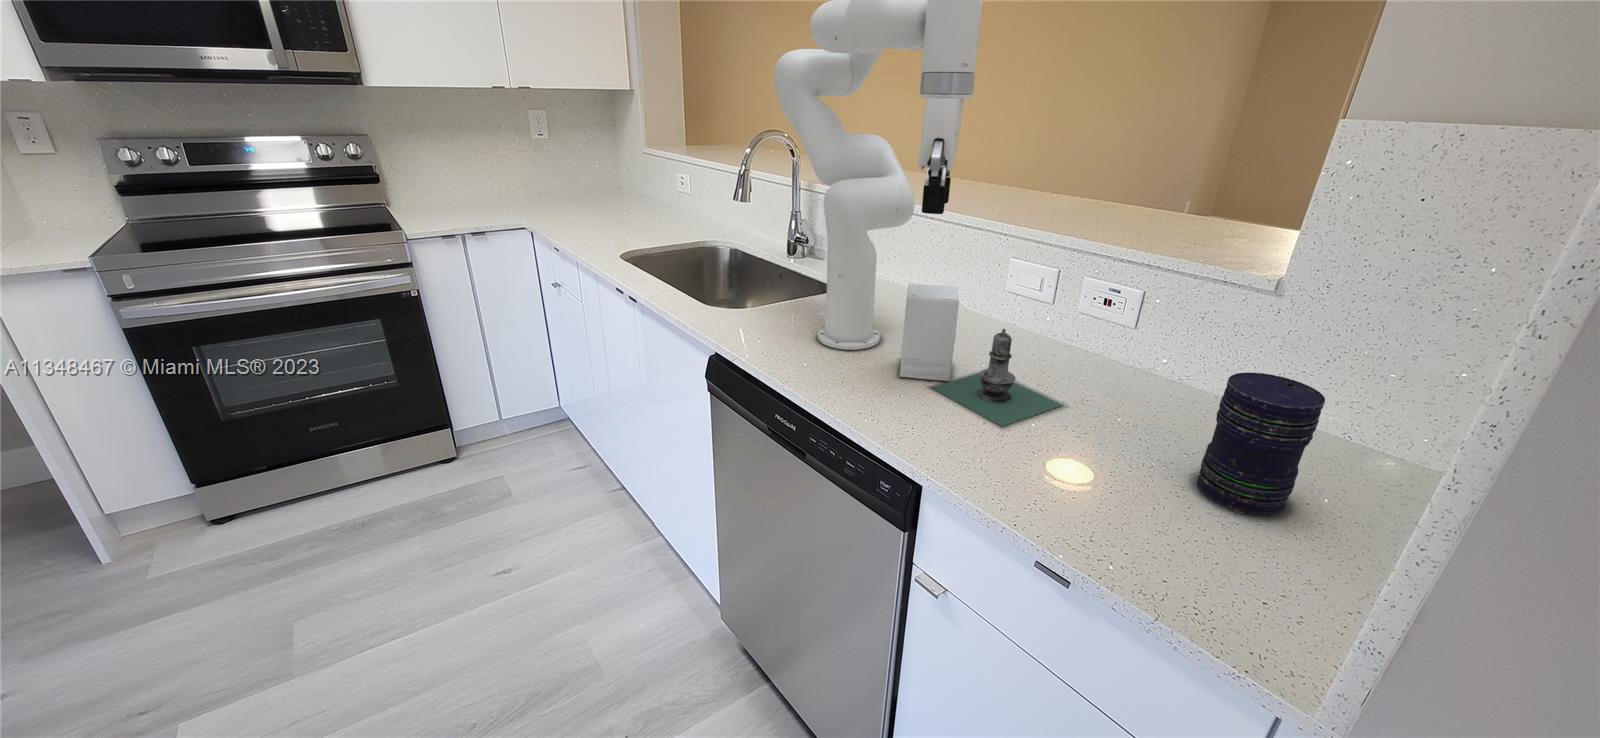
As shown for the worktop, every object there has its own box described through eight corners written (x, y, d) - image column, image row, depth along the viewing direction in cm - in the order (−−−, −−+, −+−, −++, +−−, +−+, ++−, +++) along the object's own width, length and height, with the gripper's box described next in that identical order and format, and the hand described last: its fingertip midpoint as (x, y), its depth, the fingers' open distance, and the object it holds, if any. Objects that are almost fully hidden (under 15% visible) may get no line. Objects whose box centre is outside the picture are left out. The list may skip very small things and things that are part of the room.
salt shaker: (993, 406, 105) (1003, 337, 100) (968, 392, 109) (977, 325, 104) (1020, 399, 107) (1031, 331, 102) (995, 385, 112) (1004, 320, 107)
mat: (930, 387, 111) (931, 387, 111) (989, 371, 118) (989, 370, 118) (1001, 427, 99) (1002, 426, 99) (1062, 405, 105) (1062, 405, 105)
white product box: (950, 382, 113) (960, 300, 107) (899, 377, 114) (905, 296, 108) (950, 363, 121) (958, 285, 115) (902, 359, 123) (908, 282, 117)
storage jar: (1251, 525, 77) (1291, 414, 71) (1178, 482, 85) (1208, 379, 79) (1303, 506, 81) (1346, 399, 75) (1228, 466, 89) (1261, 367, 83)
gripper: (926, 86, 101) (917, 198, 108) (913, 87, 86) (903, 216, 93) (975, 87, 100) (962, 200, 107) (971, 87, 84) (956, 219, 91)
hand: (935, 207), depth 100 cm, fingers open, 9 cm apart
